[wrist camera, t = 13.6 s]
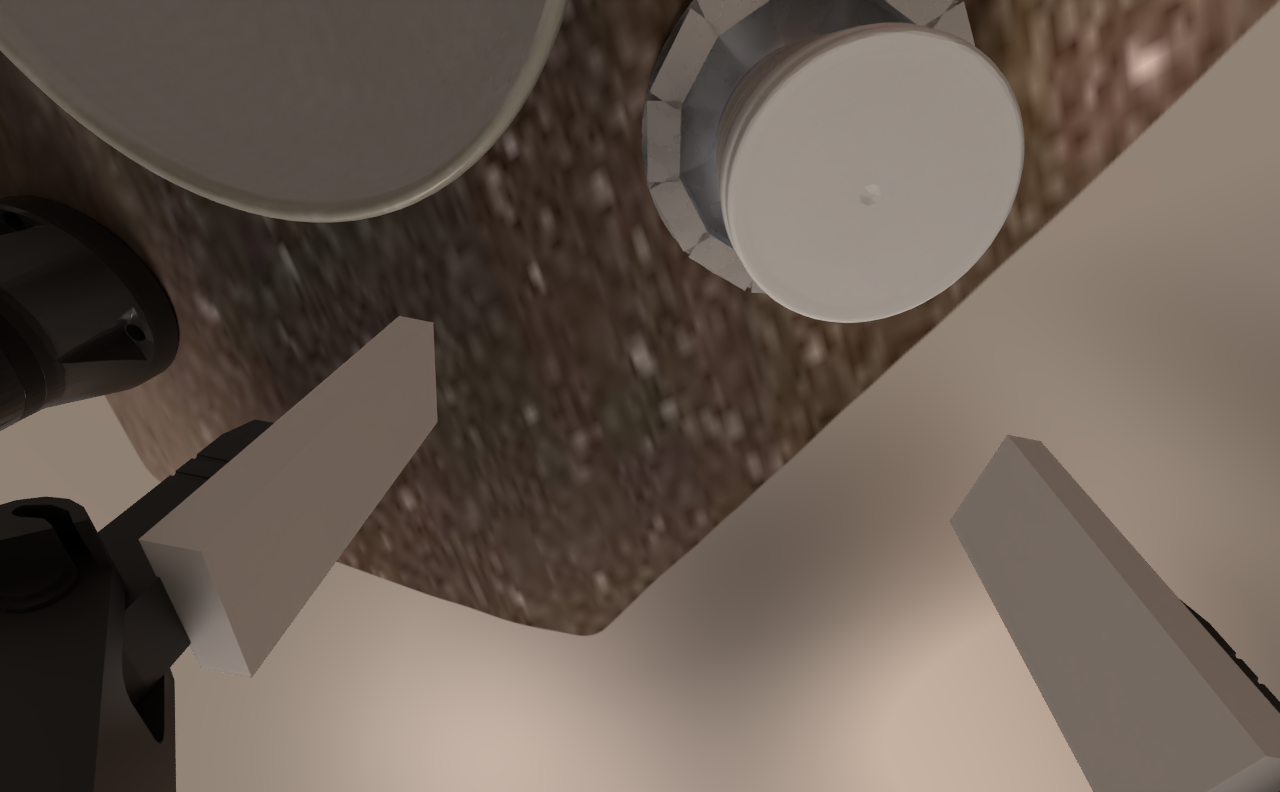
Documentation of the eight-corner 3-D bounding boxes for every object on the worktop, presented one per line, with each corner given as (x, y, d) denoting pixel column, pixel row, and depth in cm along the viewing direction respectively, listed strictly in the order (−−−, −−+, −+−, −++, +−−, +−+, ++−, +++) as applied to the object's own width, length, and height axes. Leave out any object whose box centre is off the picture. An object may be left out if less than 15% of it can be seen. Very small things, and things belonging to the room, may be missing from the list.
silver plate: (585, 73, 31) (575, 74, 29) (912, -165, 24) (931, -186, 22) (726, 330, 38) (726, 346, 36) (1007, 199, 32) (1028, 209, 30)
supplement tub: (721, 236, 33) (725, 341, 21) (707, 56, 29) (702, 54, 16) (889, 215, 32) (1002, 316, 19) (904, 19, 27) (1067, -14, 14)
